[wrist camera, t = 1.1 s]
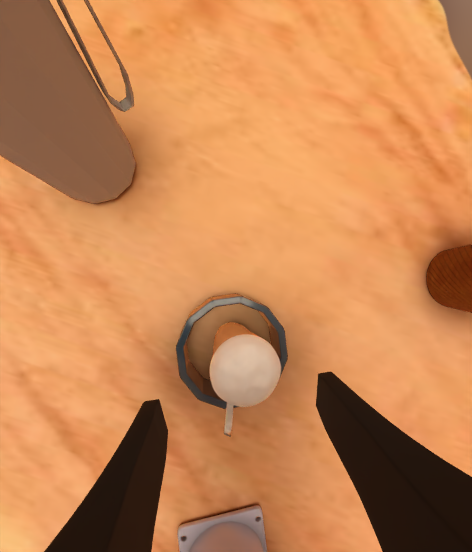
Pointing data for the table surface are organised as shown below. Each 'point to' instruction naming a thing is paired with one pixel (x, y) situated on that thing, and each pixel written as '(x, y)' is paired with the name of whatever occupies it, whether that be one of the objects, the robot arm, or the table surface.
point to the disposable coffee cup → (452, 278)
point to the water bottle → (59, 105)
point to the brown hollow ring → (186, 369)
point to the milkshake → (242, 369)
